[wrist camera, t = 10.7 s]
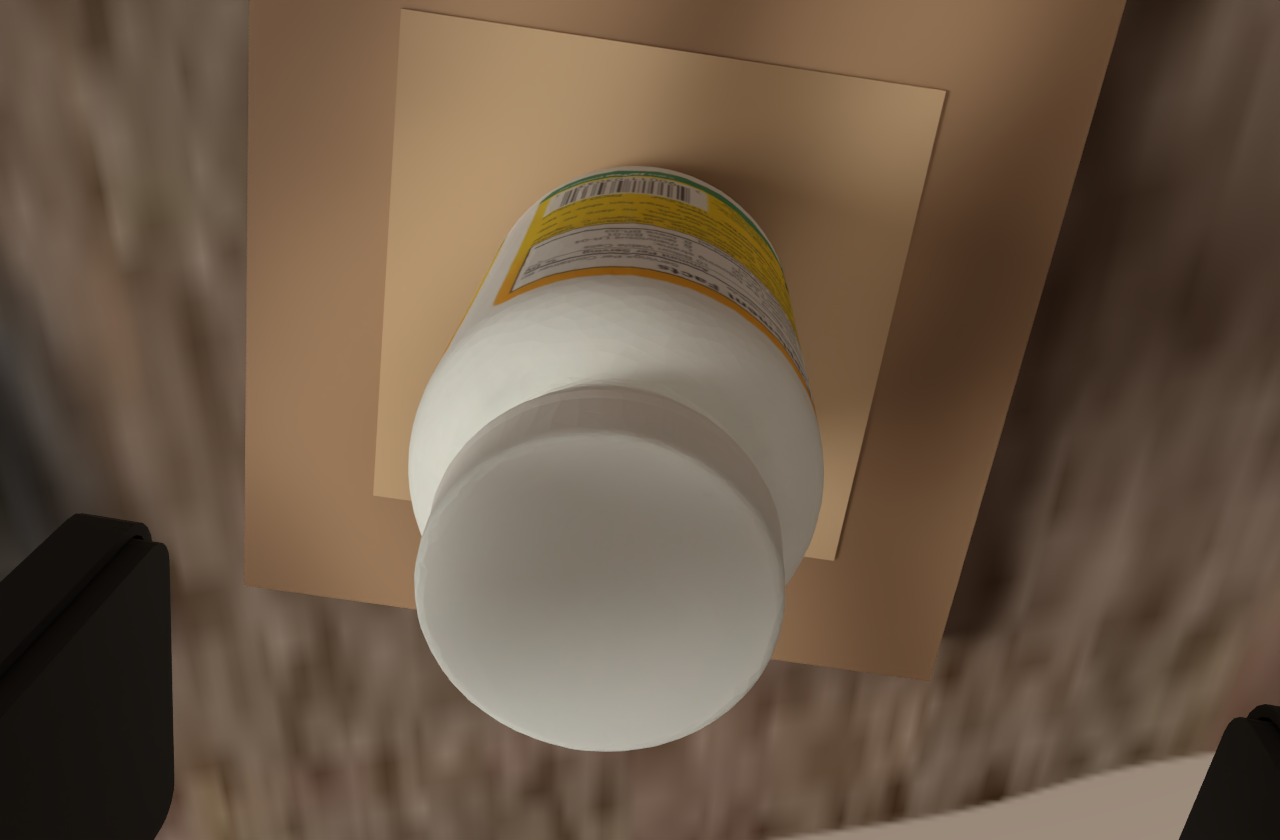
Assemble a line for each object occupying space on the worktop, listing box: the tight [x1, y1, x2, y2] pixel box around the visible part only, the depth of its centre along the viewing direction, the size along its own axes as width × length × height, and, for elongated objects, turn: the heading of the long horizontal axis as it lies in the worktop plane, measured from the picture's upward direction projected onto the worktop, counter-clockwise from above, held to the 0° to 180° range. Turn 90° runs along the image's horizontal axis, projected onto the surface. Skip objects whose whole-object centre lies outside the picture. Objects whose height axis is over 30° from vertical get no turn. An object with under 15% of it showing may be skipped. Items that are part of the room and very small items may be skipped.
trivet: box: [244, 0, 1127, 681], centre depth 22 cm, size 14×14×2 cm
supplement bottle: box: [408, 166, 824, 751], centre depth 17 cm, size 5×5×10 cm
